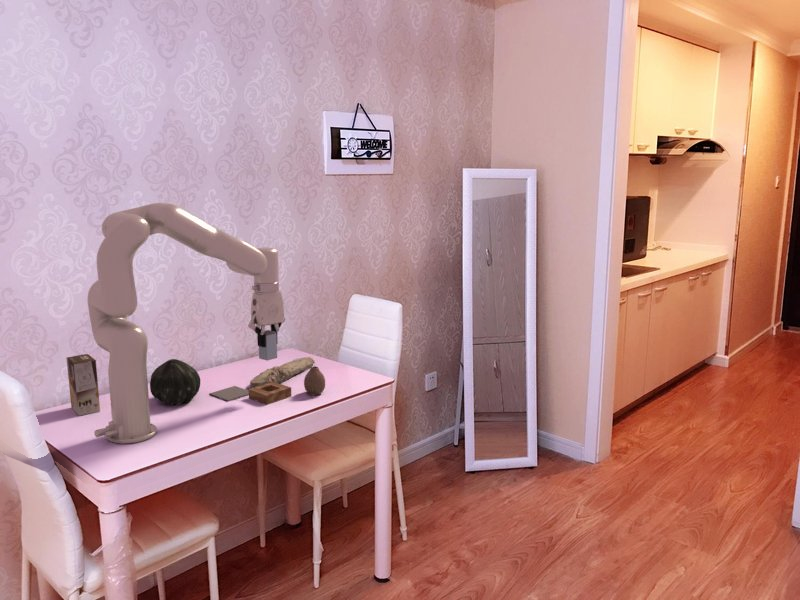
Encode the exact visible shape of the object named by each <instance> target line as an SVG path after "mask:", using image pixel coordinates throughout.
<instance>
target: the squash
mask: <svg viewBox="0 0 800 600" xmlns="http://www.w3.org/2000/svg"><path fill="white" fill-rule="evenodd" d="M149 380H150V381H149V389H150V394H151V395H152V396H153V398H154V399H156V400H158V401H159V402H162V403H164V404H166V405H167V406H172V405H174V404H175V405H181V404H182V403H188V402H191V401H192V400H193V399H194V398H195V396H197V395H198V393H199V391H200V388H201V377H200V374H199V373H198V371H197V370H196V369H195V368H194V367H193V366H191V365H190V364H188V363H186V362H184V361H182V360H180V359H176V358H171V359H168V360H166V361H165V362H163V363H161V364H160V365H159V366H157V368H155V369H154V370H153V372H152V374H151V376H150V379H149Z"/></svg>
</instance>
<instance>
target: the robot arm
mask: <svg viewBox="0 0 800 600" xmlns="http://www.w3.org/2000/svg"><path fill="white" fill-rule="evenodd" d="M101 233H102V235H103V237H104V239H103V240H102V242H101V243H100V245H99V247H98V251H97V253H96V270H97V280H96V281H95V282H93V283H92V284H91V286H90V287H89V290H88V292H87V307H88V313H89V319H90V320H89V321H90V327H91V332H92V335H93V339H94V341H95V343H96V345H97V346H99V348H101V349H103V350H104V351H106V352H108V353H109V362H108V367H107V368H108V370H107V371H108V373H107V374H108V386H109V399H110V411H111V420H110V421H108V425H106V426H105V427H103V428H100V429H99V428H98V429H95V430H94V431H93V432H94V436H95V438H99V437H103V436H104V438H107V440H108V441H109V442H112V443H115V444H123V445H125V444H134V443H140V442H143V441H145V440H149V439H151V438H153V437H154V436H156V434H158V428H157V425H155V423H154V424H153V423H151V413H150V412H151V411H150V400H149V398H150V396H149V386H148V385H149V384H148V371H147V370H148V369H147V368H148V367H147V357H148V347H149V341H148V337H147V334H146V332H145V330H144V329H143V328H142V327H141V326H139V325H138V324H136V323H134V322H132V321H129V320H128V319H127V318H128V317H131V316H132V315H133V314H134V312H136V309H137V307H138V295H137V290H136V289H137V288H136V281H135V276H134V267H133V265H134V264H133V262H134V257H135V255H136V252H137V251H138V250H139V249H140V248H141V246H143V244H145V243H146V242H147V241H148V239H149V236H152V235H155V234H162V235H165V236H167V237H169V238H170V239H173V240H175V241H177V242H179V243H180V244H181V245H184V246H186V247H188V248H189V249H191V250H193V251H195V252H197V253H199V254H200V255H204V256H207V257H210V258H213V259H217V260H219V261H220V260H221V261H223V262H224V263H225V264H226V265H227V268H228V269H229V270H231V271H233V272H234V273H236V274H237V273H238V274H241V275H248V276H252V277H253V285H252V286H251V290H252V291H253V293H252V297H251V304H250V305H251V306H250V321H249V324H248V328H250V329H251V330H253V332H255V334H256V336H257V338H256V339H257V347H259V346H260V347H266V336H265V334H264V331H266V329H265V328H266V326H269V328H270V330H271V331H275V332H276V334H277V335H278V333H279V331H280V328H281V326H282V324H283V323H284V322H285V321H286V317H285V308H284V307H285V306H284V300H283V295H282V291H281V290H280V285H279V281H280V279H279V277H280V275H279V270H280V269H279V251H278V249H277V248H274V247H257V248H256V247H254V246H252V245H251V244H249V243H248V242H246V241H243V240H242V239H239V238H238V237H236V236H232V234H229V233H228V232H225V231H223V230H221V229H219V228H217V227H215V226H214V225H211V224H209V223H208V222H206V221H205V220H202V219H201V218H199V217H198V216H195V215H194V214H192V213H191V212H189V211H188V210H186V209H184V208H183V207H181V206H178V205H177V204H173V203H166V202H165V203H164V202H154V203H150V204H146V205H142V206H138V207H137V206H136V207H134V208H129V209H125V210H120V211H116V212H113V213H111V214H109V215H107V216H106V217H105V218H104V220H103V222H102V224H101ZM278 343H279V342H278V340H277V345H278Z"/></svg>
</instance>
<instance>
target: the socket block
mask: <svg viewBox="0 0 800 600" xmlns="http://www.w3.org/2000/svg"><path fill="white" fill-rule="evenodd" d="M247 390H248V391H249V395H248V399H250V400H252V401H255V400H256V402H259V403H261V404H264V405H270V404H273V403H275V402H279V401H282V400H284V399H288V398H291V397H292V387H291V386H288V385H285V384H283V383H275V382H270V383H267V384H264V385H261V386H257V387H254V388H251V387H250V388H248V389H247Z"/></svg>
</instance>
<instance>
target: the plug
mask: <svg viewBox="0 0 800 600" xmlns="http://www.w3.org/2000/svg"><path fill="white" fill-rule="evenodd" d="M264 334H265V336H266V347H260V346H258V359H260V360H264V361H267V362H268V361H271V360H276V359H277V358H278V344H277V341H278V333H277V334H276V332H275V331H271V329H270V330H269V329H265V330H264Z"/></svg>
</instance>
